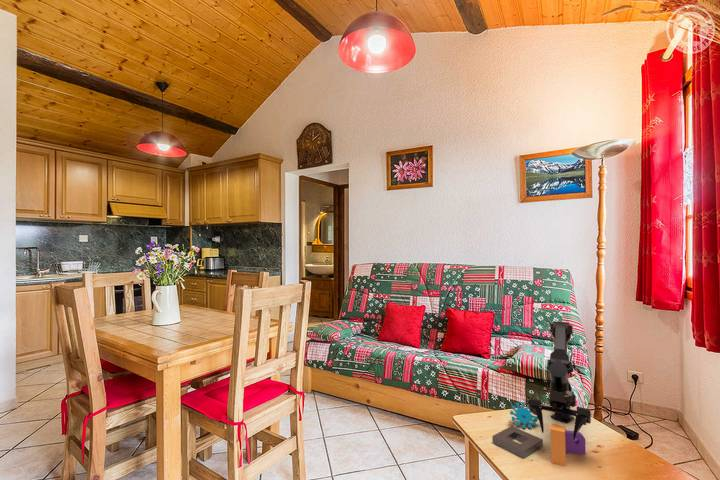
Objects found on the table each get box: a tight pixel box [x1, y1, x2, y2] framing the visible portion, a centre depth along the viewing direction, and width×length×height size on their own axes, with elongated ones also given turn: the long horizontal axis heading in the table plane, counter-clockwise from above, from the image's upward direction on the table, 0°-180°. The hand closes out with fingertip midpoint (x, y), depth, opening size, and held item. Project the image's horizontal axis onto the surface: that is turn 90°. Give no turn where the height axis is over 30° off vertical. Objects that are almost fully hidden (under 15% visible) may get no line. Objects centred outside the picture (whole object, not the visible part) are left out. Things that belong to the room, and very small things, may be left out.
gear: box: [509, 402, 539, 430], centre depth 146 cm, size 11×6×10 cm
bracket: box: [565, 429, 587, 455], centre depth 131 cm, size 12×7×7 cm, turn 166°
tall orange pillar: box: [550, 423, 567, 467], centre depth 121 cm, size 4×4×11 cm
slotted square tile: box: [491, 425, 544, 459], centre depth 131 cm, size 12×12×2 cm
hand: (558, 435), depth 121 cm, fingers open, 9 cm apart
